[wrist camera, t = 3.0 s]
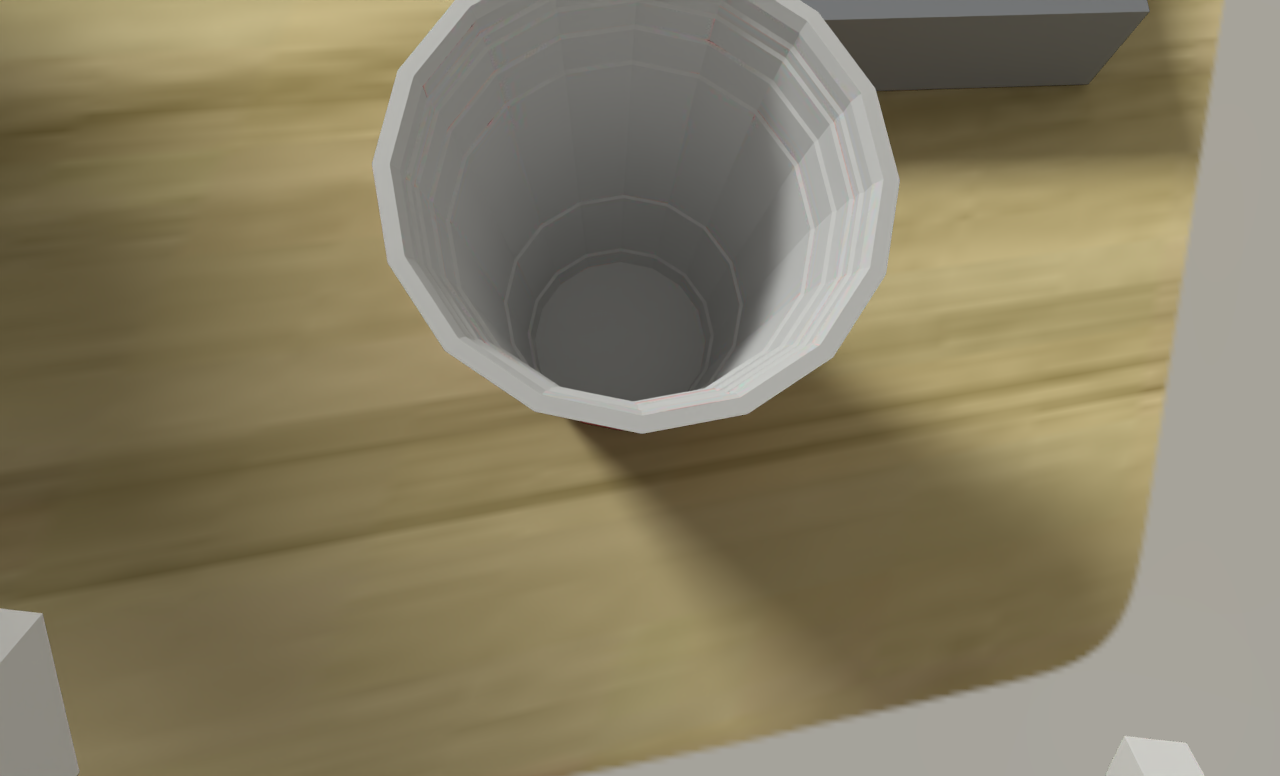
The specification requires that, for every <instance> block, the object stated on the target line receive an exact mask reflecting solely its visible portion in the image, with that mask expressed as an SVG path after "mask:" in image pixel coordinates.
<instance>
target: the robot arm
mask: <svg viewBox="0 0 1280 776" xmlns="http://www.w3.org/2000/svg"><path fill="white" fill-rule="evenodd" d="M78 774H79V767H78V763H77V759H76V754H75V750H74V746H73V742H72V737H71V733H70V729H69V724H68V720H67V716H66V712H65V707H64V703H63V699H62V694H61V690H60V686H59V682H58V677H57V673H56V669H55V665H54V660H53V656H52V652H51V647H50V643H49V639H48V635H47V630H46V626H45V622H44V617H43V613H35V612H27V611H18V610H9V609H0V776H77V775H78ZM1105 776H1205V775H1204V774H1203V772H1202V770H1201V768H1200V766H1199V765H1198V763H1197V761H1196V759H1195V757H1194V756H1193V754H1192V752H1191V750H1190V748H1189V747H1188V745H1187V743H1184V742H1175V741H1166V740H1157V739H1147V738H1139V737H1131V736H1124V737H1123V739H1122V741H1121V743H1120V746H1119V748H1118V750H1117V752H1116V754H1115V756H1114V758H1113V760H1112V762H1111V764H1110V766H1109V768H1108V770H1107V773H1106V775H1105Z"/></svg>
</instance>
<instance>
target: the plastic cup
mask: <svg viewBox="0 0 1280 776" xmlns="http://www.w3.org/2000/svg"><path fill="white" fill-rule="evenodd" d="M372 167H373V173H374V180H375V186H376V192H377V199H378V205H379V211H380V217H381V224H382V230H383V236H384V243H385V249H386V255H387V262H388V264H389V266H390V267H391V269H392V270H393V272H394V273H395V275H396V276H397V278H398V279H399V281H400V283H401V284H402V286H403V287H404V289H405V290H406V292H407V293H408V295H409V296H410V298H411V300H412V301H413V303H414V304H415V306H416V307H417V309H418V310H419V312H420V313H421V315H422V316H423V318H424V320H425V321H426V323H427V324H428V326H429V327H430V329H431V330H432V332H433V333H434V335H435V336H436V338H437V340H438V341H439V343H440V344H441V346H442V347H443V349H444V350H445V351H446V352H447V353H449V354H450V355H452V356H453V357H455V358H456V359H458V360H459V361H461V362H462V363H464V364H465V365H467V366H468V367H470V368H471V369H473V370H474V371H476V372H477V373H478V374H480V375H481V376H483V377H484V378H486V379H487V380H489V381H490V382H492V383H493V384H495V385H496V386H498V387H499V388H501V389H502V390H504V391H505V392H507V393H508V394H510V395H511V396H513V397H514V398H516V399H517V400H518V401H520V402H521V403H523V404H524V405H526V406H527V407H529V408H530V409H532V410H533V411H535V412H540V413H544V414H549V415H554V416H559V417H564V418H568V419H573V420H578V421H580V422H582V423H585V424H590V425H595V426H600V427H605V428H610V429H615V430H620V431H622V430H626V431H631V432H636V433H641V434H644V433H649V432H654V431H660V430H665V429H670V428H676V427H681V426H687V425H692V424H697V423H703V422H708V421H713V420H719V419H724V418H729V417H735V416H740V415H745V414H748V413H750V412H751V411H753V410H754V409H756V408H757V407H759V406H760V405H762V404H763V403H765V402H766V401H768V400H770V399H771V398H773V397H774V396H776V395H777V394H779V393H780V392H782V391H783V390H785V389H786V388H788V387H789V386H791V385H792V384H794V383H795V382H797V381H798V380H800V379H801V378H803V377H804V376H806V375H807V374H809V373H810V372H812V371H813V370H815V369H816V368H818V367H819V366H821V365H822V364H824V363H825V362H827V361H828V360H830V359H831V358H833V357H834V355H835V353H836V352H837V350H838V349H839V347H840V346H841V344H842V342H843V341H844V339H845V338H846V336H847V335H848V333H849V331H850V330H851V328H852V327H853V325H854V324H855V322H856V321H857V319H858V317H859V316H860V314H861V313H862V311H863V310H864V308H865V306H866V305H867V303H868V302H869V300H870V299H871V297H872V295H873V294H874V292H875V291H876V289H877V288H878V286H879V284H880V283H881V281H882V280H883V278H884V277H885V275H886V270H887V263H888V256H889V250H890V243H891V236H892V229H893V223H894V216H895V209H896V203H897V196H898V189H899V182H900V179H899V175H898V172H897V168H896V164H895V160H894V157H893V153H892V149H891V145H890V142H889V138H888V134H887V130H886V126H885V123H884V119H883V115H882V111H881V108H880V104H879V100H878V96H877V93H876V89H875V87H874V86H873V85H872V83H871V82H870V81H869V79H868V78H867V77H866V75H865V74H864V73H863V71H862V70H861V69H860V67H859V66H858V65H857V63H856V62H855V61H854V59H853V58H852V57H851V55H850V54H849V53H848V51H847V50H846V49H845V47H844V46H843V45H842V43H841V42H840V41H839V39H838V38H837V37H836V35H835V34H834V33H833V31H832V30H831V29H830V27H829V26H828V25H827V23H826V22H825V21H824V19H823V18H822V17H821V15H820V14H819V12H817V11H816V10H814V9H813V8H811V7H810V6H808V5H807V4H805V3H803V2H802V1H800V0H455V1H454V2H453V4H452V5H451V6H450V7H449V8H448V10H447V11H446V12H445V13H444V14H443V16H442V17H441V18H440V19H439V21H438V22H437V23H436V24H435V25H434V27H433V28H432V29H431V30H430V32H429V33H428V34H427V35H426V36H425V38H424V39H423V40H422V41H421V43H420V44H419V45H418V46H417V47H416V49H415V50H414V51H413V52H412V54H411V55H410V56H409V57H408V58H407V60H406V61H405V62H404V63H403V65H402V66H401V67H400V68H399V69H398V71H397V75H396V79H395V82H394V86H393V90H392V93H391V97H390V100H389V104H388V108H387V111H386V115H385V118H384V122H383V126H382V129H381V133H380V137H379V140H378V144H377V147H376V151H375V155H374V158H373V162H372Z"/></svg>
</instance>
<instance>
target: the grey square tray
mask: <svg viewBox="0 0 1280 776" xmlns="http://www.w3.org/2000/svg"><path fill="white" fill-rule="evenodd" d="M800 1H802V2H803V3H805V4H807V5H808V6H810V7H811V8H813V9H814V10H816V11H817V12H819V14H820V15H821V17H822V18H823V19H824V21H825V22H826V23H827V25H828V26H829V27H830V29H831V30H832V31H833V33H834V34H835V35H836V37H837V38H838V39H839V41H840V42H841V43H842V45H843V46H844V47H845V49H846V50H847V51H848V53H849V54H850V55H851V57H852V58H853V59H854V61H855V62H856V63H857V65H858V66H859V67H860V69H861V70H862V71H863V73H864V74H865V75H866V77H867V78H868V79H869V81H870V82H871V83H872V85H873V86H874V87H875V89H876V91H886V90H918V89H950V88H982V87H1015V86H1047V85H1079V84H1089V83H1090V81H1091V80H1092V79H1093V78H1094V77H1095V76H1096V74H1097V73H1098V72H1099V71H1100V70H1101V68H1102V67H1103V66H1104V65H1105V64H1106V63H1107V61H1108V60H1109V59H1110V58H1111V57H1112V55H1113V54H1114V53H1115V52H1116V51H1117V50H1118V48H1119V47H1120V46H1121V45H1122V44H1123V42H1124V41H1125V40H1126V39H1127V38H1128V37H1129V35H1130V34H1131V33H1132V32H1133V31H1134V29H1135V28H1136V27H1137V26H1138V25H1139V24H1140V22H1141V21H1142V20H1143V19H1144V18H1145V16H1146V15H1147V14H1148V13H1149V12H1150V11H1149V7H1148V2H1147V0H800Z"/></svg>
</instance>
